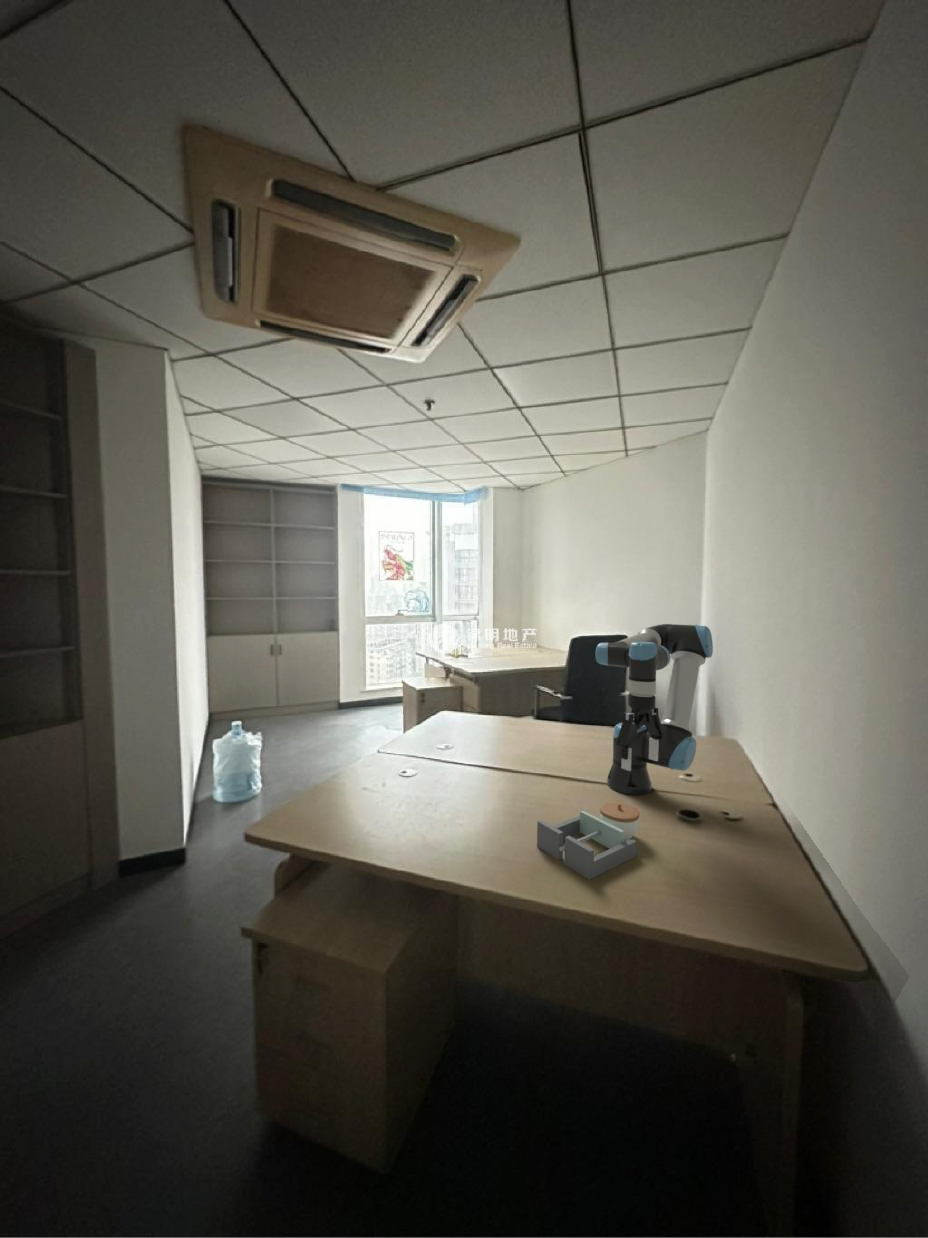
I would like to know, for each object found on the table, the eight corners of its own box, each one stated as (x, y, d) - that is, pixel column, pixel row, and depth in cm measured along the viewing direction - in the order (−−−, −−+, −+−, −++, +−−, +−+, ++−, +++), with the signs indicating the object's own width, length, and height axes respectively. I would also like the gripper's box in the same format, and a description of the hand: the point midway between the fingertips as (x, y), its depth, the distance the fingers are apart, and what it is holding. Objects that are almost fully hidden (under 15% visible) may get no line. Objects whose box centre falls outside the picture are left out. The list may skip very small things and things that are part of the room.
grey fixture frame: (582, 827, 135) (583, 804, 135) (635, 856, 120) (636, 830, 120) (537, 846, 125) (537, 821, 124) (589, 879, 110) (589, 851, 109)
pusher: (582, 830, 132) (582, 810, 132) (623, 853, 121) (624, 831, 120) (540, 848, 123) (541, 826, 122) (581, 874, 111) (582, 850, 111)
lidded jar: (641, 833, 132) (642, 801, 132) (634, 850, 123) (635, 816, 123) (604, 823, 138) (605, 793, 138) (595, 839, 129) (595, 806, 128)
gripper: (654, 687, 145) (652, 752, 146) (604, 696, 131) (602, 769, 132) (677, 691, 139) (675, 759, 140) (626, 702, 125) (625, 778, 126)
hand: (640, 764), depth 136 cm, fingers open, 13 cm apart
